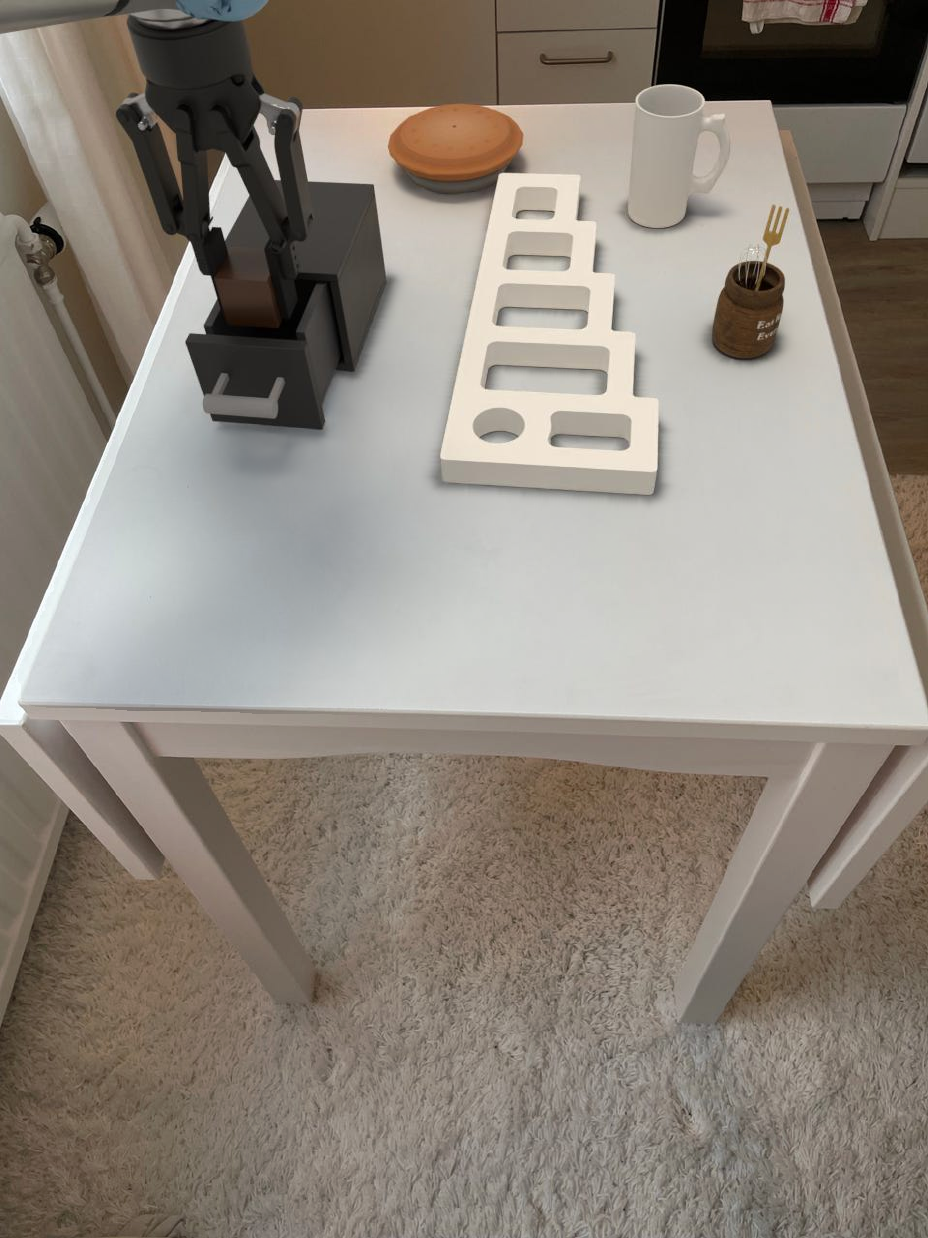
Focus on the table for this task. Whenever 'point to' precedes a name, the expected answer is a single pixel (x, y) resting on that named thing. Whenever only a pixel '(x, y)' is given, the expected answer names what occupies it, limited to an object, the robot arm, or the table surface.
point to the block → (247, 289)
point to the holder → (546, 358)
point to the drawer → (270, 363)
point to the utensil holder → (751, 301)
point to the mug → (670, 153)
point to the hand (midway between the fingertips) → (260, 306)
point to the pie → (455, 147)
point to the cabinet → (334, 255)
